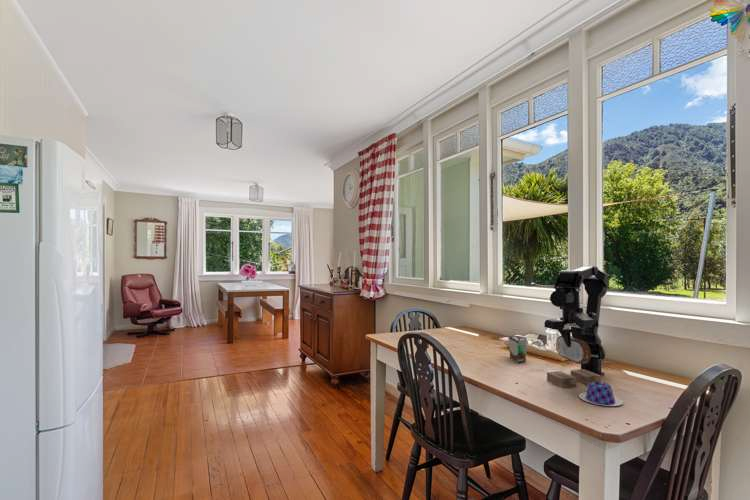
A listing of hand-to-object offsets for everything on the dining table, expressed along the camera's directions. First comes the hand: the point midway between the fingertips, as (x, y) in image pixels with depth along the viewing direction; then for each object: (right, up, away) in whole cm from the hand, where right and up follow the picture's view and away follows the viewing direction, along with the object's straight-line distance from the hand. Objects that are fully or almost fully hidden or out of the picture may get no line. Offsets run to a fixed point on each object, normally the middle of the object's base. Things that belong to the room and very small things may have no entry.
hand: (572, 346), depth 135 cm
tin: (0, -5, 0) cm, 5 cm away
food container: (-7, -14, +30) cm, 34 cm away
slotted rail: (0, -13, 0) cm, 13 cm away
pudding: (-1, -13, -18) cm, 22 cm away
